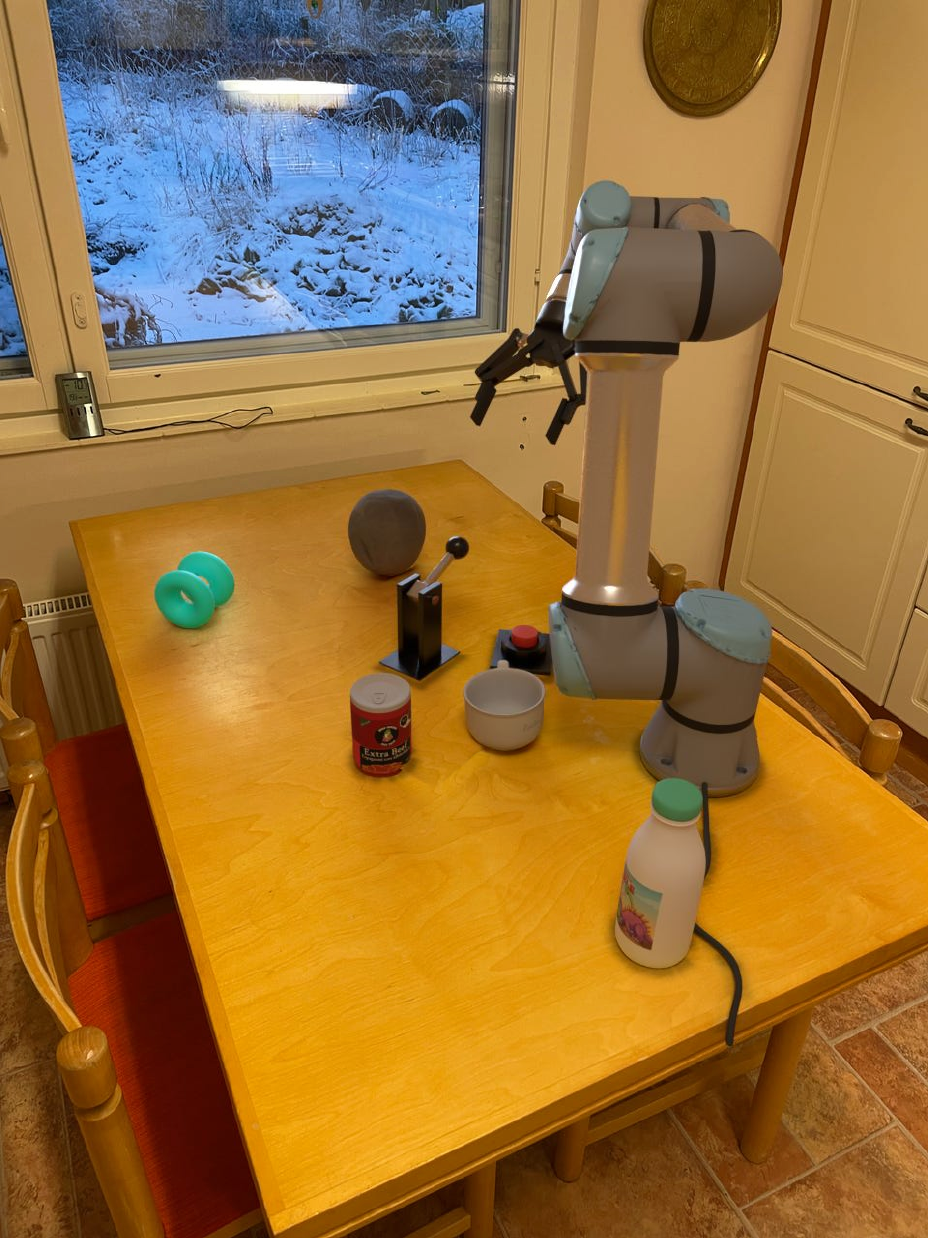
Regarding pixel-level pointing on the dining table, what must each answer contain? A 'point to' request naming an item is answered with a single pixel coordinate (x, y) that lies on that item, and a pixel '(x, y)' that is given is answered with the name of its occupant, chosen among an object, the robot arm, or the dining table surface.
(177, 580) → the teal spool
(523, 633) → the button
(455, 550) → the lever
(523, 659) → the black button base
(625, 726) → the dining table surface
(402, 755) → the canned food
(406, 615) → the black lever stand
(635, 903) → the milk bottle
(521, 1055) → the dining table surface
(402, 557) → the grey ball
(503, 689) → the teacup
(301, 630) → the dining table surface
